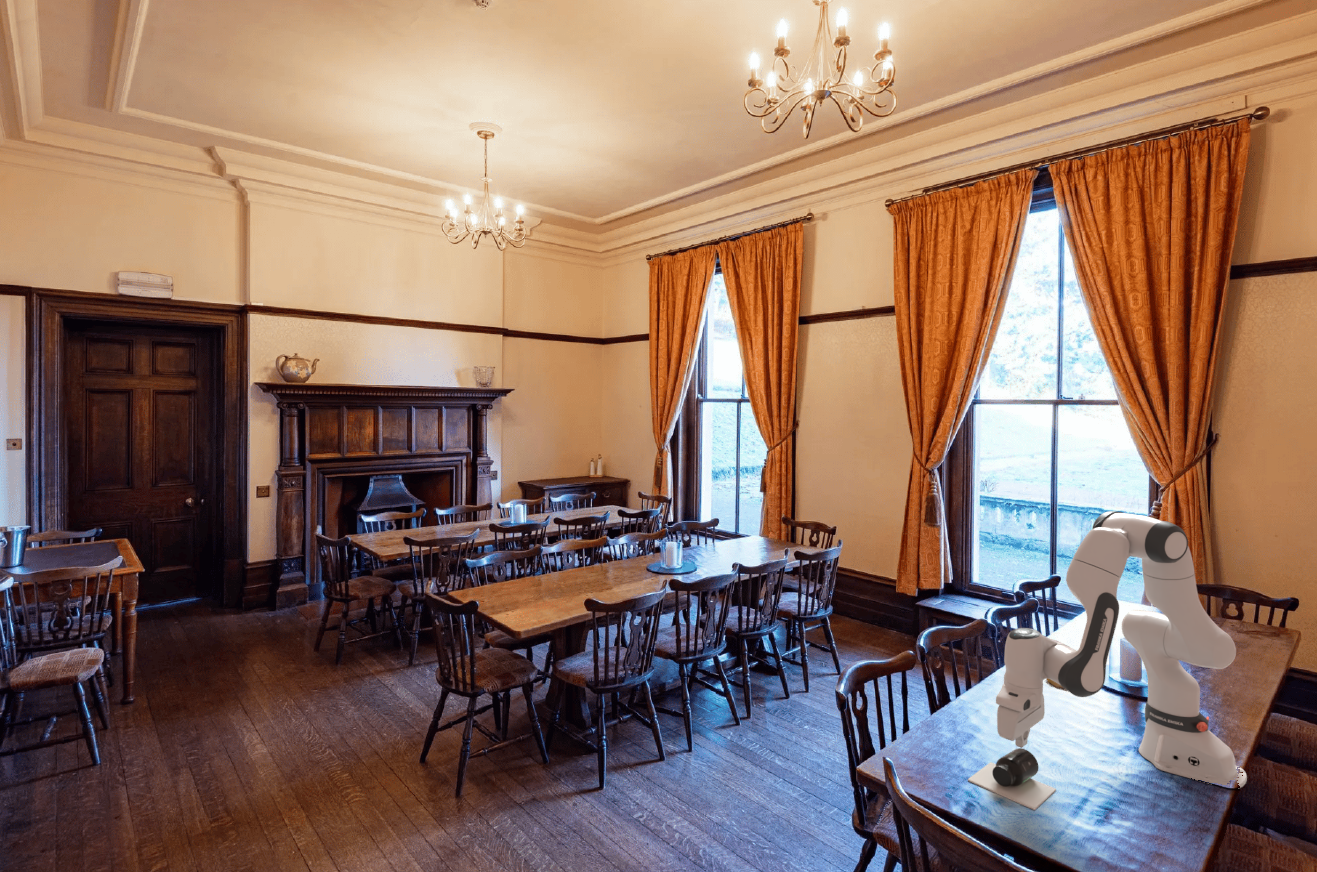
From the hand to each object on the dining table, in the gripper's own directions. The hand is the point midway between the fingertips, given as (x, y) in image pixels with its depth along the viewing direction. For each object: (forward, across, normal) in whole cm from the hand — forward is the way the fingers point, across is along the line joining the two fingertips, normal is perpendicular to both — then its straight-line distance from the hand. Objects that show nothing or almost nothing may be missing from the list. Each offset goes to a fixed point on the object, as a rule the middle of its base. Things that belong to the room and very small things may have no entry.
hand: (1021, 745), depth 170 cm
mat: (+9, +6, 0) cm, 10 cm away
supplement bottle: (+5, -2, 0) cm, 5 cm away
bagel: (+9, -74, -16) cm, 76 cm away
